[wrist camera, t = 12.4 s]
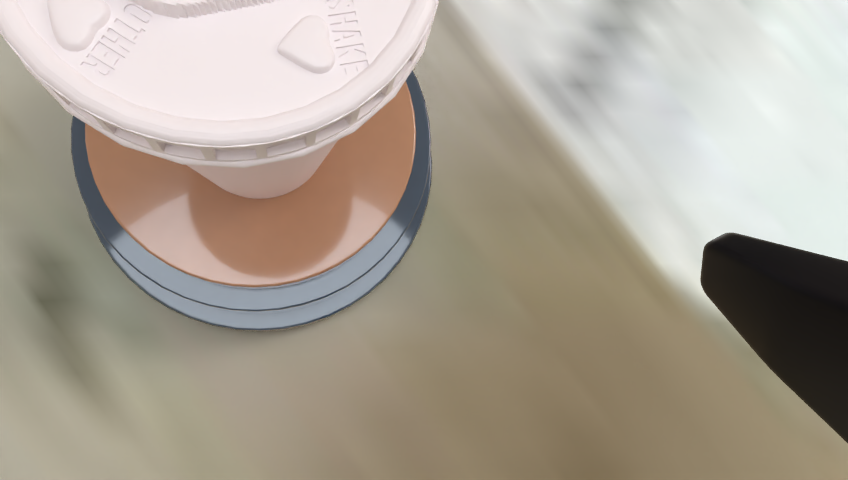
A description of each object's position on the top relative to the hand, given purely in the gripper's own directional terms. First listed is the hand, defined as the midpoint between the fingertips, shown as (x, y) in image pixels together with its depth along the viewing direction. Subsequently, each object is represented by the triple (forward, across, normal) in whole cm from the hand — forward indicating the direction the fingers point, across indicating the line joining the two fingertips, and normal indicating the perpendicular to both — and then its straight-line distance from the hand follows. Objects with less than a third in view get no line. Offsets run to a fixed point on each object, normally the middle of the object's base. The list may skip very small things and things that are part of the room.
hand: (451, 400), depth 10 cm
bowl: (+15, 0, +4) cm, 15 cm away
